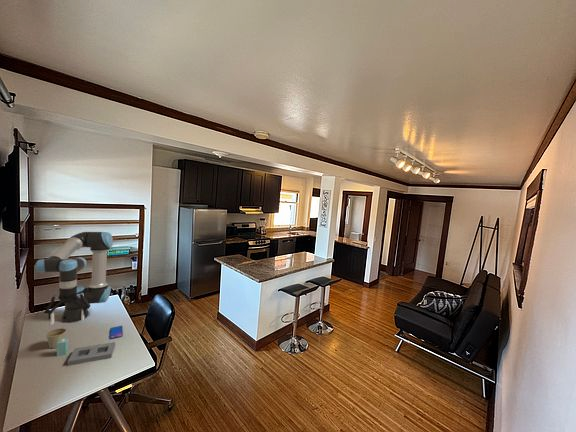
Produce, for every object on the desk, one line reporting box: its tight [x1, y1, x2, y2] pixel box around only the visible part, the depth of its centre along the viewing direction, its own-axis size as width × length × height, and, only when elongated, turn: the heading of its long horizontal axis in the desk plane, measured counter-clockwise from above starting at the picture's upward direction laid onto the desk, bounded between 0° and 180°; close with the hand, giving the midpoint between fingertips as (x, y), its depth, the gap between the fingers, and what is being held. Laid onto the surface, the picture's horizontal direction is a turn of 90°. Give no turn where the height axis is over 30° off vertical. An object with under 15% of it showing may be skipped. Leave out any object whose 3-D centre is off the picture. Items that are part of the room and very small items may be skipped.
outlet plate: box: [67, 341, 116, 366], centre depth 145 cm, size 12×20×2 cm, turn 116°
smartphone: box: [109, 325, 124, 340], centre depth 168 cm, size 7×1×15 cm
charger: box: [56, 338, 69, 357], centre depth 144 cm, size 4×4×9 cm
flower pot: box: [45, 327, 67, 349], centre depth 150 cm, size 9×9×9 cm
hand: (68, 321), depth 142 cm, fingers open, 13 cm apart
